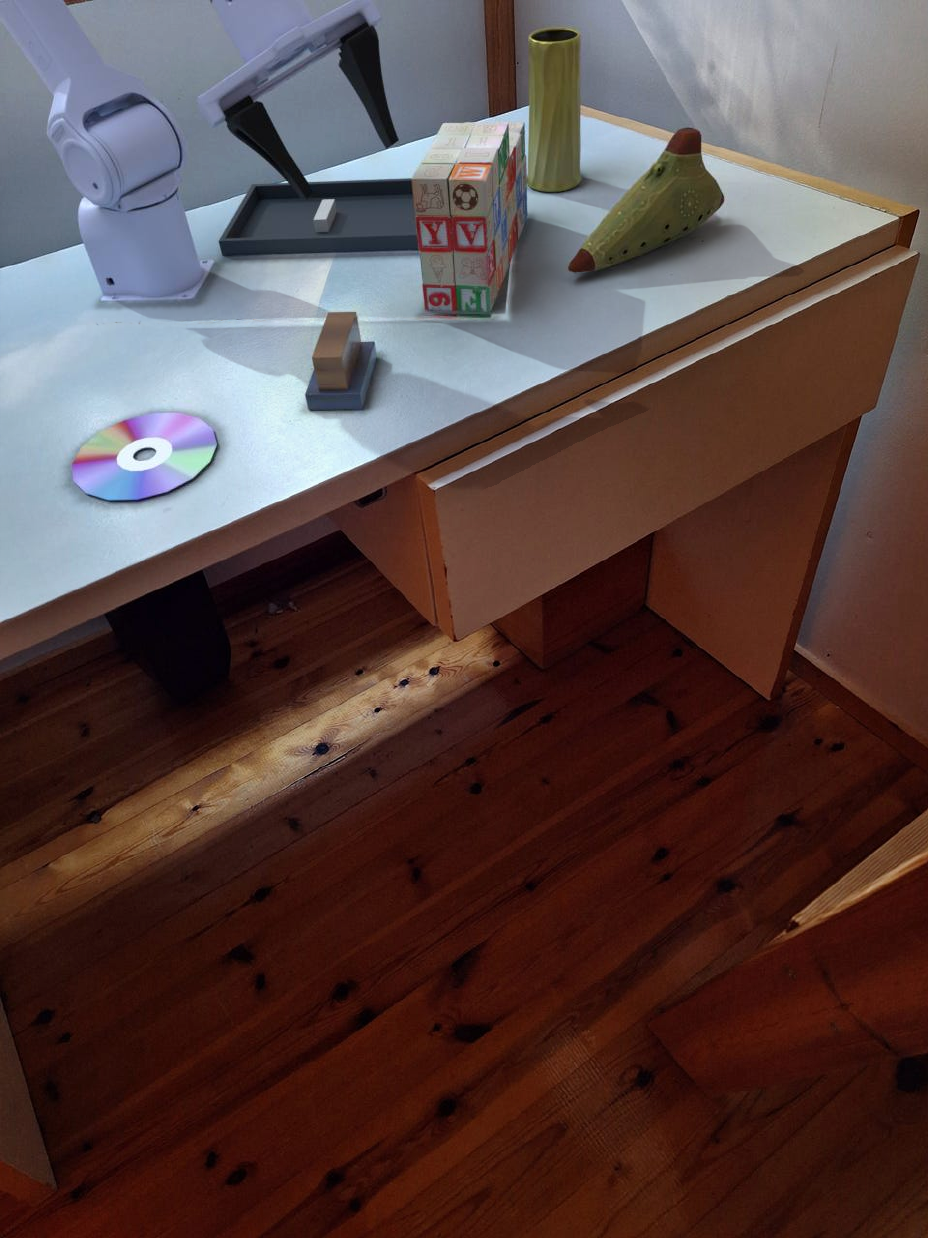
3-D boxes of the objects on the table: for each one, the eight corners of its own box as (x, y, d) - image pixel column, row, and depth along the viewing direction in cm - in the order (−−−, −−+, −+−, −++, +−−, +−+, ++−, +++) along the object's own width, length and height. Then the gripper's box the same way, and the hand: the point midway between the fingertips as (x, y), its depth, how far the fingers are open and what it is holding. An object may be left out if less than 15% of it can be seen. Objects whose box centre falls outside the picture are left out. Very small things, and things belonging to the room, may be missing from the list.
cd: (193, 397, 75) (193, 397, 75) (235, 467, 68) (235, 466, 68) (58, 442, 72) (58, 441, 72) (88, 520, 65) (88, 519, 65)
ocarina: (586, 293, 83) (590, 181, 76) (549, 273, 86) (549, 163, 79) (739, 226, 90) (757, 117, 83) (700, 210, 93) (713, 104, 86)
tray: (223, 261, 93) (218, 240, 91) (256, 202, 102) (251, 183, 101) (427, 255, 90) (425, 234, 89) (441, 196, 100) (439, 176, 99)
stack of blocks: (470, 214, 96) (462, 86, 87) (528, 216, 95) (526, 86, 86) (424, 316, 82) (409, 175, 73) (492, 318, 81) (485, 176, 72)
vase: (518, 176, 102) (515, 31, 92) (569, 166, 103) (571, 21, 93) (537, 196, 98) (536, 47, 88) (590, 186, 99) (595, 37, 89)
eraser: (362, 409, 73) (354, 359, 69) (308, 410, 73) (296, 360, 70) (377, 356, 78) (369, 307, 75) (326, 357, 78) (316, 309, 75)
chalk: (315, 232, 94) (313, 219, 93) (324, 212, 98) (322, 199, 97) (328, 232, 94) (326, 218, 93) (337, 211, 98) (334, 198, 97)
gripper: (156, 20, 59) (275, 217, 65) (341, -95, 60) (443, 111, 66) (159, 47, 65) (267, 224, 71) (326, -57, 66) (420, 127, 72)
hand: (351, 171), depth 69 cm, fingers open, 7 cm apart
